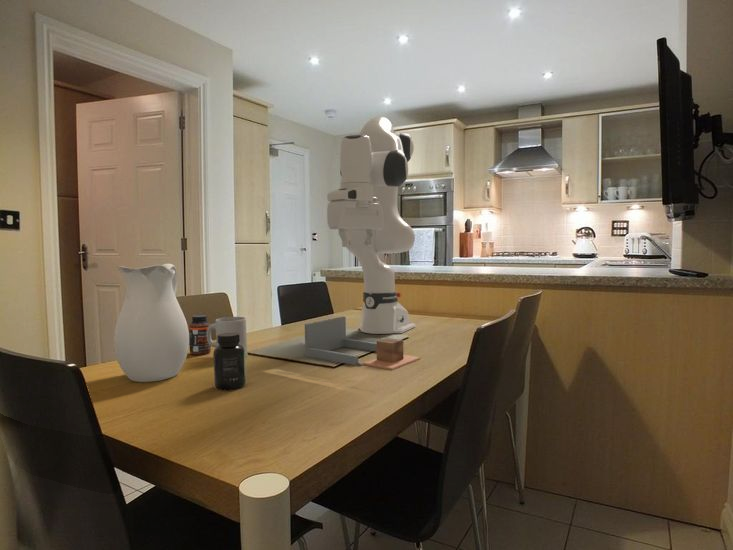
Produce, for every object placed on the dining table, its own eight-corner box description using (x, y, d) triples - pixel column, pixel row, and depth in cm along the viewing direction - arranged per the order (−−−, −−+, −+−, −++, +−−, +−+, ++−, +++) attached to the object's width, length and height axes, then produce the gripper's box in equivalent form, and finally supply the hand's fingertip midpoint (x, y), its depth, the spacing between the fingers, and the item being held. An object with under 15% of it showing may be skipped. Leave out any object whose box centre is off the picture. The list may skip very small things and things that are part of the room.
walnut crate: (388, 356, 127) (387, 337, 127) (403, 358, 124) (403, 339, 124) (376, 359, 124) (376, 340, 123) (392, 362, 120) (392, 343, 120)
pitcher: (173, 385, 109) (167, 265, 107) (101, 386, 110) (94, 266, 108) (209, 360, 133) (205, 260, 131) (150, 360, 134) (145, 261, 132)
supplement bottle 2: (251, 383, 111) (250, 332, 110) (234, 392, 104) (232, 338, 103) (227, 380, 113) (225, 330, 112) (208, 389, 106) (206, 336, 106)
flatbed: (305, 359, 132) (304, 324, 131) (343, 349, 144) (342, 316, 144) (360, 370, 120) (359, 331, 119) (396, 357, 132) (395, 322, 132)
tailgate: (363, 362, 121) (392, 368, 115) (392, 352, 131) (420, 357, 126) (363, 366, 121) (392, 372, 115) (392, 356, 131) (420, 361, 126)
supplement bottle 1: (198, 356, 138) (197, 317, 137) (185, 354, 141) (183, 316, 140) (215, 352, 143) (213, 314, 142) (202, 350, 146) (200, 313, 145)
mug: (252, 353, 140) (251, 316, 139) (238, 361, 132) (236, 321, 131) (215, 352, 143) (214, 316, 142) (199, 359, 134) (198, 320, 134)
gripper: (370, 198, 138) (371, 246, 139) (322, 193, 122) (323, 247, 123) (388, 197, 134) (389, 245, 135) (341, 191, 118) (342, 247, 119)
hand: (357, 246), depth 129 cm, fingers open, 8 cm apart
